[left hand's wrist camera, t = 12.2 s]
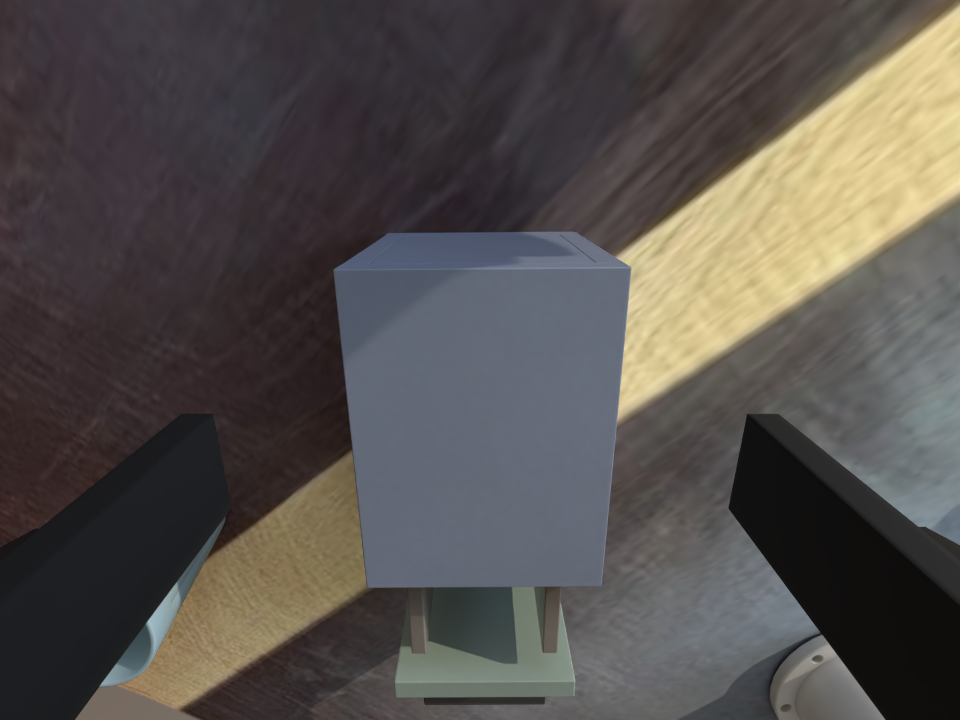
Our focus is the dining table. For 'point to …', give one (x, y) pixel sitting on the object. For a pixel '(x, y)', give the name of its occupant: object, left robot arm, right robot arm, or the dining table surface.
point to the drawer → (484, 646)
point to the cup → (158, 623)
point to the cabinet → (483, 405)
